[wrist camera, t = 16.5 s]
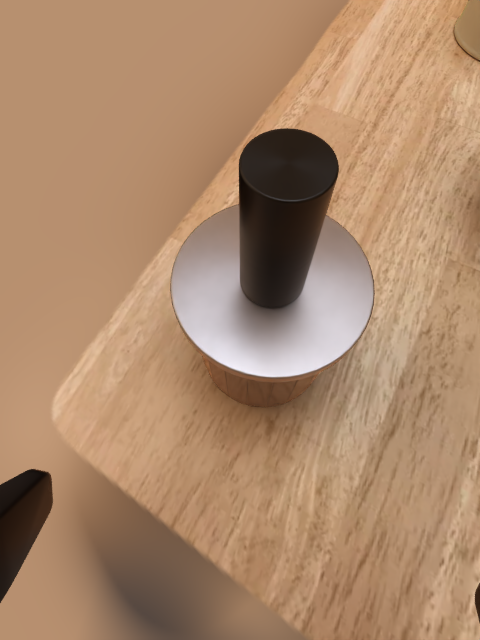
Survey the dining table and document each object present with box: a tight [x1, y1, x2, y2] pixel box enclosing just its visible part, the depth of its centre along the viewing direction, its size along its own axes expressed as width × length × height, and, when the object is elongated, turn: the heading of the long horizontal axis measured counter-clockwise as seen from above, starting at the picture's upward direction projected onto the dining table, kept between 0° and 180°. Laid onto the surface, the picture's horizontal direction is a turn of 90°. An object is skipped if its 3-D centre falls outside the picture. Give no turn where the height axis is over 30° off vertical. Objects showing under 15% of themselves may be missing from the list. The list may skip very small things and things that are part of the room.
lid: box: [170, 128, 375, 382], centre depth 13 cm, size 8×8×7 cm
